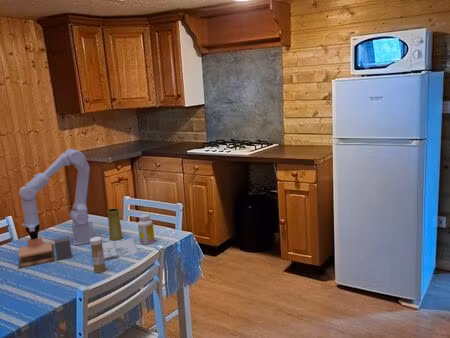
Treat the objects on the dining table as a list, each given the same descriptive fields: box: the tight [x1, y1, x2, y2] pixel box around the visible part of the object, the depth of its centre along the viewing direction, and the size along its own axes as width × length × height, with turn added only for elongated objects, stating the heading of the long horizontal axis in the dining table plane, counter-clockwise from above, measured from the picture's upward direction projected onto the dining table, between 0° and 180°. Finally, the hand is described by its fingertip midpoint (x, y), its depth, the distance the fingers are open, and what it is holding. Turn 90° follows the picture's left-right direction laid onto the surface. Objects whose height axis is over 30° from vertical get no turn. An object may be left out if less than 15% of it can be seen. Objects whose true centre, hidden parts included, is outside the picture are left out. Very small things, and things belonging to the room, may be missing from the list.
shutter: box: [18, 236, 52, 259], centre depth 183 cm, size 13×11×4 cm
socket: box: [18, 243, 55, 269], centre depth 186 cm, size 14×20×3 cm
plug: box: [53, 237, 73, 262], centre depth 183 cm, size 6×4×8 cm, turn 114°
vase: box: [106, 207, 124, 242], centre depth 201 cm, size 6×6×14 cm
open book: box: [90, 238, 140, 261], centre depth 188 cm, size 19×20×2 cm
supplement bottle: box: [137, 213, 155, 245], centre depth 194 cm, size 7×7×13 cm
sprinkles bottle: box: [89, 236, 106, 274], centre depth 167 cm, size 5×5×14 cm
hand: (35, 242), depth 189 cm, fingers closed
